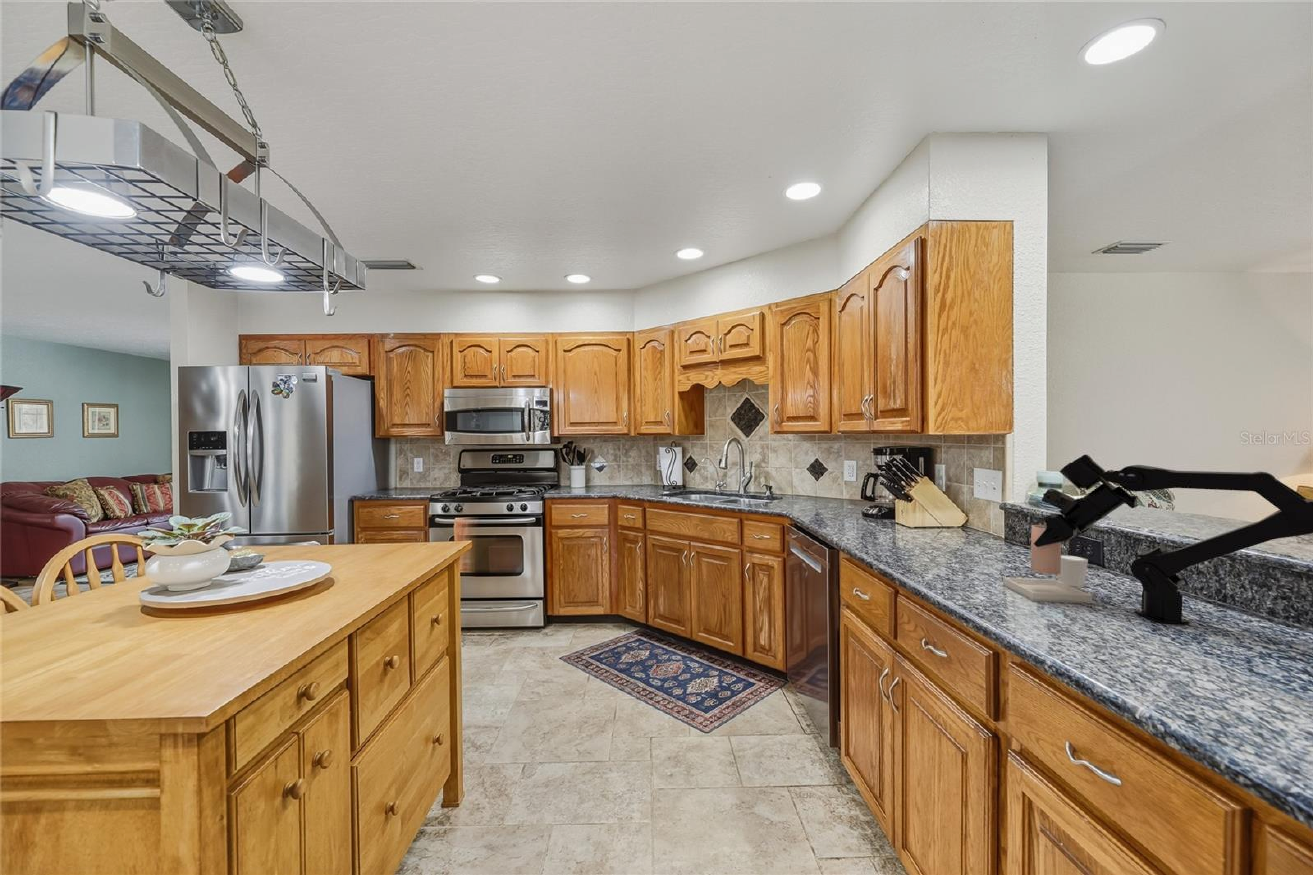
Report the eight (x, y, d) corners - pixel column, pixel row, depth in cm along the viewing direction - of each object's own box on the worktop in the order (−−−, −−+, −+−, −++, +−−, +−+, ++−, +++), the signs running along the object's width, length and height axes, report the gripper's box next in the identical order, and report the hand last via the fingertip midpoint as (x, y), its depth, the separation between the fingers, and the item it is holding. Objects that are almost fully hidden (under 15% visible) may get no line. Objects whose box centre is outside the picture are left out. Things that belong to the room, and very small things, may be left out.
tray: (1091, 603, 125) (1091, 595, 125) (1032, 601, 127) (1033, 593, 127) (1055, 587, 138) (1056, 579, 138) (1002, 585, 140) (1003, 577, 139)
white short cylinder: (1075, 580, 145) (1076, 555, 145) (1094, 588, 138) (1094, 561, 138) (1049, 579, 146) (1049, 554, 146) (1065, 587, 139) (1066, 560, 139)
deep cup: (1061, 575, 128) (1062, 529, 128) (1031, 571, 131) (1031, 527, 131) (1059, 570, 133) (1060, 526, 133) (1030, 566, 136) (1031, 523, 136)
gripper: (1077, 476, 135) (1025, 514, 143) (1055, 480, 123) (1000, 521, 132) (1117, 511, 129) (1060, 548, 137) (1098, 519, 117) (1037, 559, 126)
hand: (1039, 543), depth 133 cm, fingers closed on deep cup, 6 cm apart
